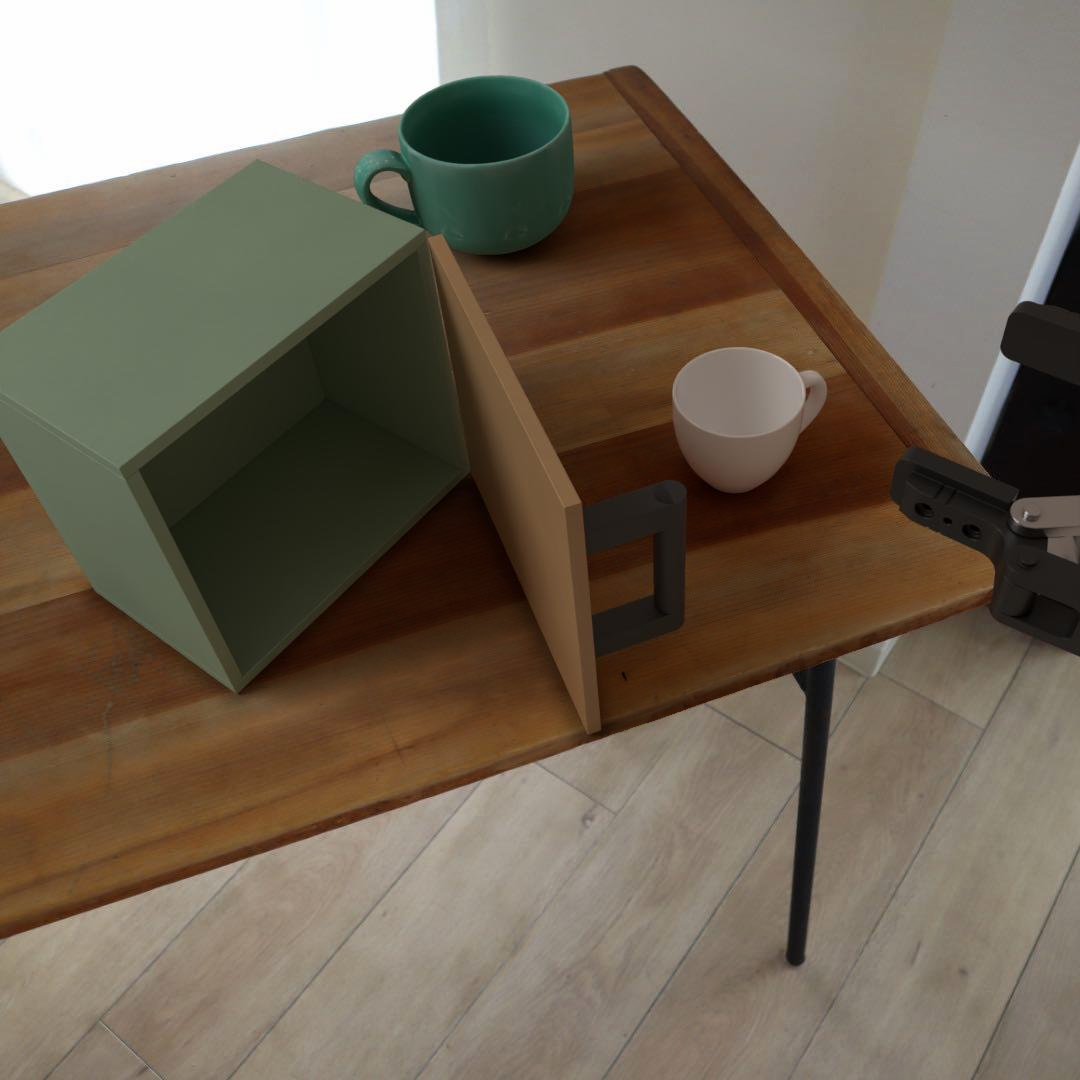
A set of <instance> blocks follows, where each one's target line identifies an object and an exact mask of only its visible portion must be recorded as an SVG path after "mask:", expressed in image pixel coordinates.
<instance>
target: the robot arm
mask: <svg viewBox="0 0 1080 1080" xmlns="http://www.w3.org/2000/svg"><path fill="white" fill-rule="evenodd" d="M999 349H1000V352H1001V354H1002V355H1003V357H1005V358H1006V359H1008V360H1009V361H1012V362H1014V363H1017V364H1020V365H1022V366H1025V367H1028V368H1030V369H1033V370H1036V371H1038V372H1041V373H1044V374H1047V375H1049V376H1052V377H1055V378H1057V379H1060V380H1062V381H1066V382H1068V383H1071V384H1073V385H1076V386H1079V387H1080V313H1077V312H1074V311H1072V312H1070V310H1069V309H1066V308H1062V307H1060V306H1057V305H1051V304H1041V303H1038V302H1034V301H1032V300H1024V301H1021V302H1019V303H1018V304H1017V305H1016V306H1015V308H1014V309H1013V311H1011V313H1010V314H1009V316H1008V317H1007V319H1006V324H1005V327H1004V331H1003V335H1002V338H1001V341H1000V346H999ZM889 487H890V488H889V496H890V499H891V500H892V501H893V503H894V504H896V505H897V506H898V507H899V508H898V511H899V512H900V513H901V514H903V515H904V517H906V518H907V519H908V520H909V521H911V522H913V523H915V524H917V525H919V526H921V527H924V528H928V530H931V531H932V532H935V533H937V534H938V533H939V534H940V535H942V536H944V537H946V538H948V539H950V540H952V541H955V542H957V543H959V544H961V545H964V546H966V547H968V548H969V549H972V550H974V551H977V552H978V553H980V554H983V555H984V556H985V557H987V558H988V559H989V560H990V562H991V563H992V565H993V569H994V578H993V588H992V595H991V598H990V602H989V603H988V604H989V605H988V612H989V614H990V616H991V617H992V618H993V619H994V620H995V621H996V622H998V623H1000V624H1001V625H1003V626H1005V627H1008V628H1011V629H1013V630H1015V631H1018V632H1020V633H1022V634H1025V635H1026V636H1027V635H1028V636H1030V637H1031V638H1034V639H1037V640H1039V641H1042V642H1044V643H1045V644H1048V645H1051V646H1053V647H1055V648H1058V649H1060V650H1063V651H1065V652H1066V653H1067V652H1068V653H1069V654H1072V655H1075V656H1076V657H1079V658H1080V494H1078V495H1058V496H1037V497H1022V498H1019V499H1017V498H1018V495H1019V491H1020V488H1017V487H1015V486H1012V485H1010V484H1008V483H1007V482H1006V483H1005V482H1003V481H1000V480H999V479H997V478H994V477H991V476H989V475H987V474H985V473H982V472H979V471H977V470H975V469H972V468H970V467H968V466H965V465H963V464H961V463H958V462H955V461H954V460H951V459H949V458H947V457H944V456H943V455H942V456H941V455H939V454H938V453H935V452H932V451H931V450H927V449H925V448H923V447H920V446H909V447H908V448H907V449H906V450H904V452H903V454H901V456H900V457H899V459H898V460H897V461H896V462H895V464H894V469H893V474H892V478H891V483H890V486H889ZM1043 596H1044V597H1043ZM1055 601H1056V602H1055ZM1070 607H1071V608H1070Z"/></svg>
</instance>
